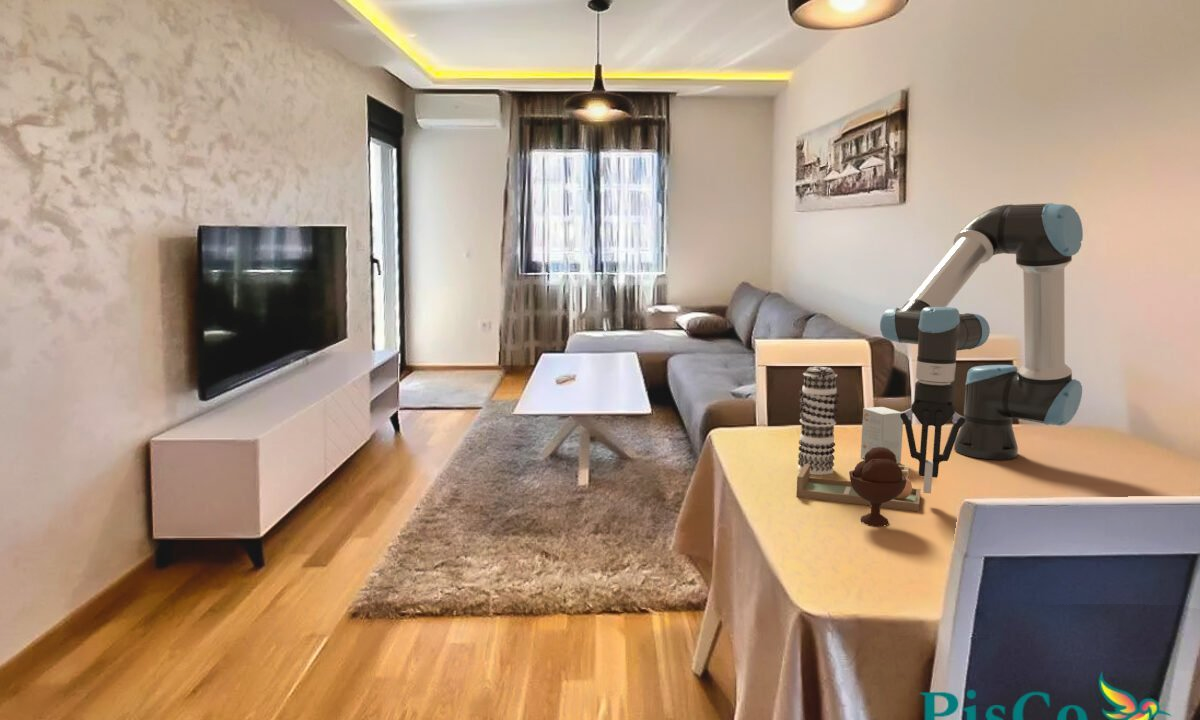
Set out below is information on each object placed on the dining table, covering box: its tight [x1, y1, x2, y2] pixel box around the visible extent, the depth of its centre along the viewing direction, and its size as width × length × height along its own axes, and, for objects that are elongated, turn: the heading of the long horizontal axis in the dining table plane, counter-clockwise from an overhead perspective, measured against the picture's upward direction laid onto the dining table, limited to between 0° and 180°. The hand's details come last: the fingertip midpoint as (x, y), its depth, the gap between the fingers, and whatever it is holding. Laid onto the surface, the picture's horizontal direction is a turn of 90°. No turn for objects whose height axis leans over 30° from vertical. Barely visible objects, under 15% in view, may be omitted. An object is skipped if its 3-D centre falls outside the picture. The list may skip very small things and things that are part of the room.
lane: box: [795, 464, 921, 512], centre depth 184 cm, size 25×11×4 cm, turn 68°
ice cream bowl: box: [848, 447, 907, 527], centre depth 167 cm, size 11×11×15 cm
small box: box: [860, 406, 904, 464], centre depth 212 cm, size 8×6×13 cm
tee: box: [898, 464, 910, 479], centre depth 189 cm, size 4×4×5 cm
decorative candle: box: [797, 365, 840, 476], centre depth 202 cm, size 9×9×25 cm
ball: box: [896, 477, 913, 499], centre depth 180 cm, size 5×5×5 cm
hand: (927, 491), depth 178 cm, fingers closed
